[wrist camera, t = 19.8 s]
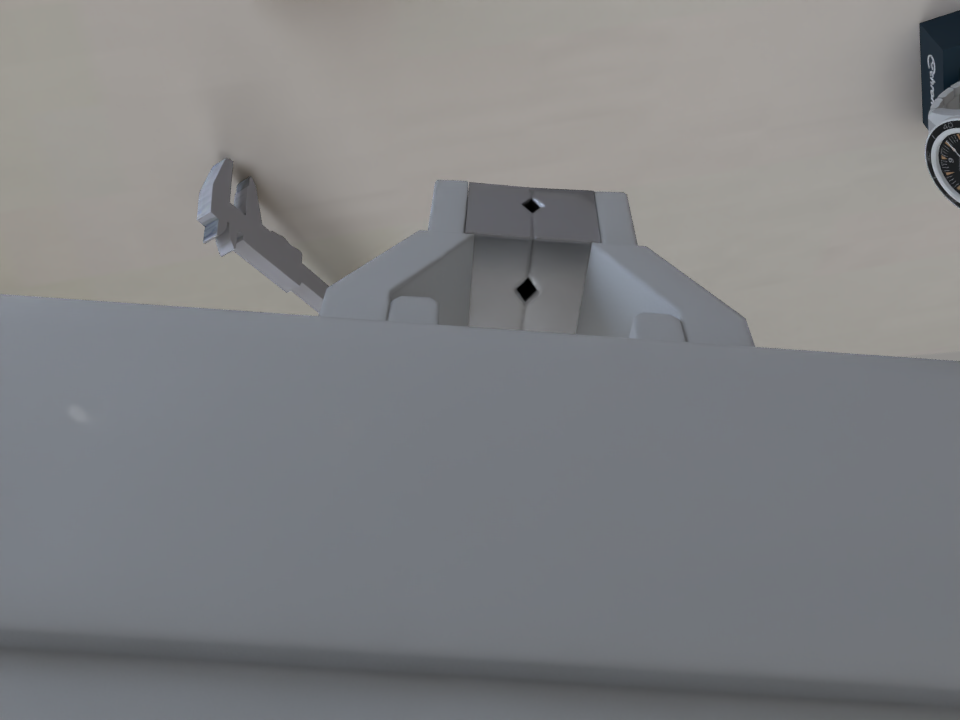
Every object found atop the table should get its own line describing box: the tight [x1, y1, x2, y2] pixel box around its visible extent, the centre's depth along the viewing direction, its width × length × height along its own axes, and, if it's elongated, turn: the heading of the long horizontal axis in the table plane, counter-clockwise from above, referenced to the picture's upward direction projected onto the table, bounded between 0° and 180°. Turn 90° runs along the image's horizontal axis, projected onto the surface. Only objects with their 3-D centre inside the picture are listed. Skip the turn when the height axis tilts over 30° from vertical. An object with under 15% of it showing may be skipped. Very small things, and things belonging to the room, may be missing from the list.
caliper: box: [197, 158, 329, 313], centre depth 50 cm, size 20×1×6 cm, turn 32°
